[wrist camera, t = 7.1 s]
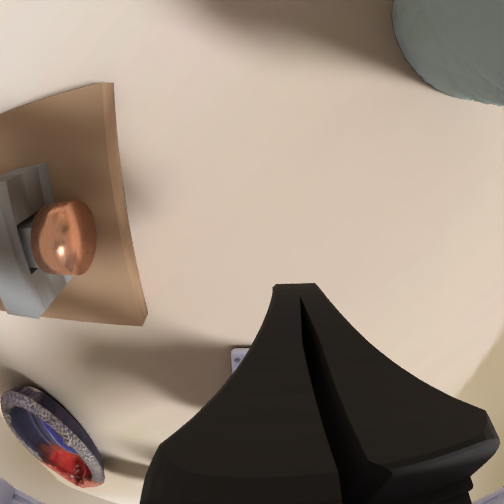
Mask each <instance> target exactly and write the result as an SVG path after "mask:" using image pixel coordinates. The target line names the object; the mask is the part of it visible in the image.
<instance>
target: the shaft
mask: <svg viewBox="0 0 504 504" xmlns="http://www.w3.org/2000/svg"><path fill="white" fill-rule="evenodd" d="M16 227H17V231H18V234H19V238H20V241H21V245H22V248H23V251H24V254H25V257H26V261H27V264H28V267H29V268H40V269H41V270H42V271H43V272H45V273H47V274H52V275H82V274H84V273H86V272H87V271H88V269H89V268H90V266H91V264H92V262H93V259H94V255H95V250H96V226H95V221H94V218H93V215H92V212H91V210H90V209H89V207H88V206H87V205H86V204H85V203H84V202H82V201H80V200H75V201H65V202H56V203H48V204H45V205H44V206H42V207H41V208H40V209H39V210H38V212H37V213H34V214H32V215H31V216H29V217H28V218H27V219H25V220H24V221H22V222H21V223H19V224H18V225H16Z"/></svg>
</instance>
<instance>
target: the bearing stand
mask: <svg viewBox="0 0 504 504" xmlns="http://www.w3.org/2000/svg"><path fill="white" fill-rule="evenodd" d="M75 200H80V201H82V202H84V203H85V204H86V205H87V206H88V207H89V209H90V210H91V212H92V215H93V218H94V221H95V226H96V250H95V255H94V259H93V262H92V264H91V266H90V268H89V269H88V271H87V272H86V273H84V274H82V275H52V274H47V273H45V272H43V271H42V270H41V269H40V268H29V267H28V264H27V261H26V257H25V254H24V251H23V248H22V245H21V241H20V238H19V234H18V231H17V227H16V225H18V224H19V223H21V222H22V221H24V220H25V219H27V218H28V217H29V216H31V215H32V214H34V213H37V212H38V210H39V209H40V208H41V207H42V206H44V205H45V204H48V203H56V202H65V201H75ZM0 310H1V311H7V313H8V314H11V315H17V316H23V317H30V318H37V319H39V318H40V317H49V318H57V319H66V320H75V321H84V322H94V323H105V324H117V325H131V326H143V324H144V321H145V319H146V317H147V315H148V311H147V307H146V303H145V299H144V295H143V291H142V286H141V282H140V278H139V273H138V268H137V264H136V259H135V254H134V249H133V244H132V238H131V233H130V227H129V222H128V216H127V210H126V203H125V197H124V190H123V183H122V175H121V167H120V159H119V149H118V140H117V129H116V116H115V101H114V83H103V82H102V83H98V84H94V85H89V86H85V87H82V88H78V89H74V90H70V91H67V92H63V93H60V94H57V95H53V96H50V97H47V98H44V99H41V100H38V101H35V102H32V103H29V104H26V105H24V106H21V107H18V108H16V109H13V110H10V111H8V112H5V113H3V114H0Z"/></svg>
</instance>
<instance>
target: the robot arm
mask: <svg viewBox="0 0 504 504" xmlns="http://www.w3.org/2000/svg"><path fill="white" fill-rule="evenodd" d="M236 358H239V359H236ZM231 365H232V375H231V376H230V378H229V379H228V380H227V382H226V383H225V384H224V385H223V386H222V388H221V389H220V390H219V391H218V392H217V393H216V395H215V396H214V397H213V398H212V399H211V400H210V401H209V402H208V403H207V404H206V405H205V406H204V407H203V408H202V409H201V410H200V411H199V412H198V413H197V414H196V415H195V416H194V417H193V418H192V419H190V420H189V421H188V422H187V423H186V424H185V425H183V426H182V427H181V428H180V429H179V430H177V431H176V432H175V433H174V434H172V435H171V436H170V437H169V438H167V439H166V440H165V441H164V442H162V443H161V444H160V445H159V447H158V449H157V451H156V453H155V455H154V457H153V459H152V461H151V463H150V466H149V468H148V471H147V474H146V476H145V480H144V484H143V489H142V494H141V499H140V504H504V486H503V487H502V488H500V489H498V490H496V491H494V492H492V493H490V494H488V495H487V496H484V497H482V498H480V499H478V500H476V501H474V502H471V500H470V496H469V493H468V491H470V490H471V489H472V488H473V483H472V480H471V477H470V476H471V475H472V474H474V473H475V472H476V471H477V470H478V469H479V468H480V467H481V466H483V464H485V463H486V462H487V461H488V460H489V459H490V458H491V457H492V456H493V455H494V454H495V452H496V451H497V449H498V447H499V445H500V440H499V437H498V435H497V433H496V431H495V429H494V426H493V424H492V422H491V420H490V418H489V416H488V414H487V413H486V411H485V410H483V409H480V408H478V407H475V406H473V405H470V404H468V403H466V402H463V401H461V400H458V399H456V398H454V397H451V396H449V395H447V394H445V393H443V392H442V391H440V390H438V389H436V388H434V387H432V386H430V385H428V384H427V383H425V382H423V381H421V380H420V379H418V378H417V377H415V376H413V375H412V374H410V373H409V372H407V371H406V370H404V369H403V368H401V367H400V366H398V365H397V364H396V363H394V362H393V361H391V360H390V359H389V358H388V357H386V356H385V355H384V354H383V353H381V352H380V351H379V350H378V349H376V348H375V347H374V346H373V345H372V344H370V343H369V342H368V341H367V340H366V339H365V338H364V337H363V336H362V335H361V334H360V333H359V332H358V331H357V330H356V329H355V328H354V327H353V326H352V325H351V324H350V323H349V322H348V321H347V320H346V319H345V318H344V317H343V315H342V314H341V313H340V312H339V311H338V310H337V309H336V308H335V306H334V305H333V304H332V303H331V302H330V301H329V299H328V298H327V297H326V296H325V294H324V293H323V292H322V291H321V289H320V288H319V287H318V286H317V285H316V284H315V283H303V284H276V285H275V286H274V287H273V293H272V298H271V302H270V305H269V308H268V311H267V314H266V316H265V319H264V321H263V324H262V326H261V328H260V330H259V332H258V334H257V336H256V338H255V340H254V341H253V343H252V345H251V347H250V348H235V349H233V350H232V351H231ZM0 504H45V503H43V502H41V501H39V500H37V499H34V498H33V497H30V496H28V495H26V494H24V493H23V492H21V491H19V490H17V489H15V488H14V487H13V486H12V485H11V484H9V483H8V482H7V481H6V480H4V479H3V478H1V477H0Z"/></svg>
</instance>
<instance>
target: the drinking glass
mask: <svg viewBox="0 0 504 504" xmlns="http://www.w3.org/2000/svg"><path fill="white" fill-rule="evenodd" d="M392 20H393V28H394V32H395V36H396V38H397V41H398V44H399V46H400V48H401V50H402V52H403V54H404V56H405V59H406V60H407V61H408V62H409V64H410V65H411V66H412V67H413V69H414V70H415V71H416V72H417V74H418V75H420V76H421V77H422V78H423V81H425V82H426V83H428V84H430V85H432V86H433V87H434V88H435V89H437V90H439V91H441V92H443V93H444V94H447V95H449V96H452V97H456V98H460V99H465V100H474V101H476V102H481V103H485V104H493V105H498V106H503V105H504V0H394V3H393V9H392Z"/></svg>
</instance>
